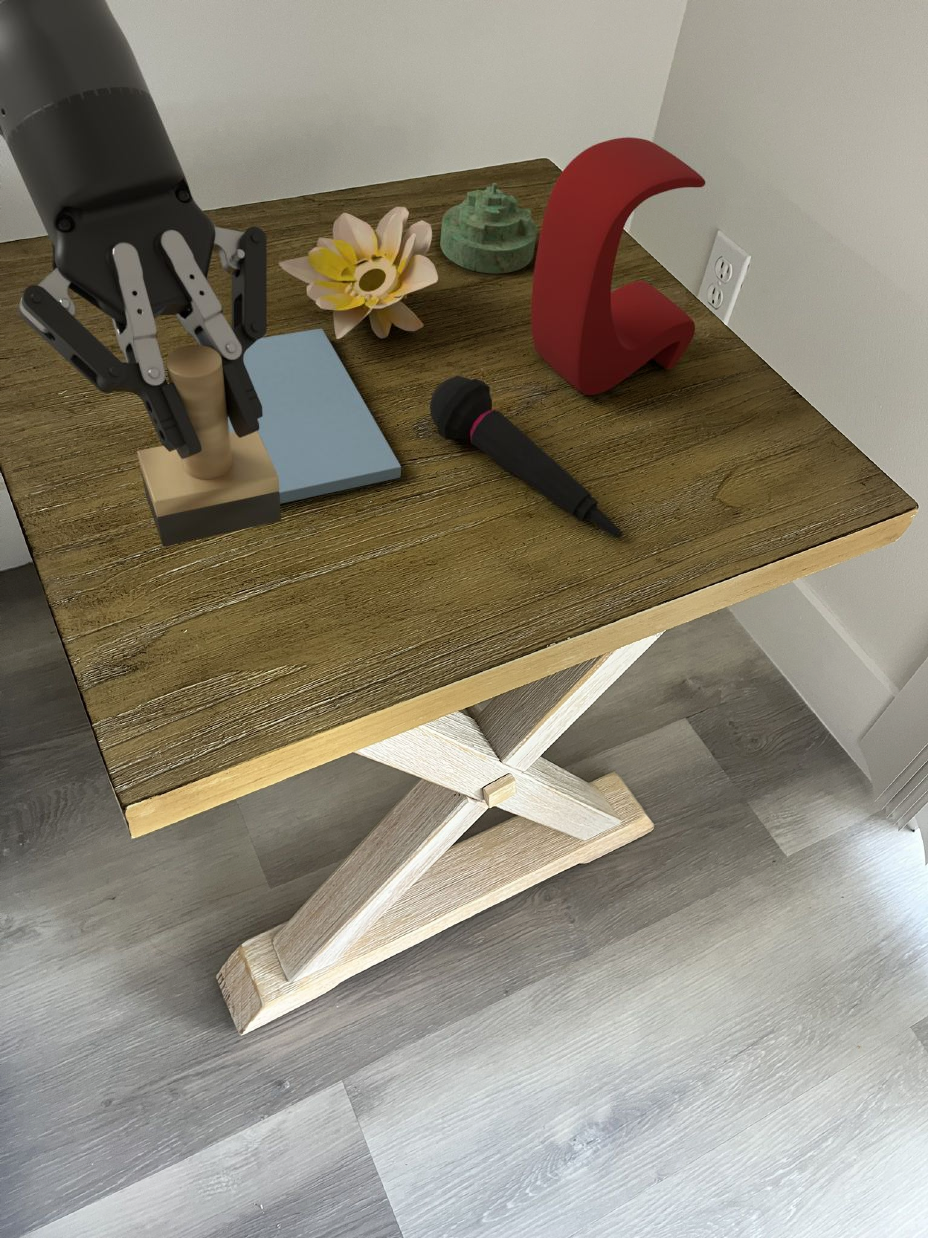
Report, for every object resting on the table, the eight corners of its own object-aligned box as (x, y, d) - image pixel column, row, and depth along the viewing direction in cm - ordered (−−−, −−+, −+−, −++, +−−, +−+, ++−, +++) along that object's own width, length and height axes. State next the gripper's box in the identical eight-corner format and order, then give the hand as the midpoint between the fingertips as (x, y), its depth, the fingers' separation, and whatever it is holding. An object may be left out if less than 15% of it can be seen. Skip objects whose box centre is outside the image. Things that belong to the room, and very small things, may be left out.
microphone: (618, 552, 81) (445, 413, 87) (653, 499, 78) (471, 357, 83) (586, 572, 77) (407, 423, 83) (621, 516, 74) (432, 365, 79)
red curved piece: (562, 408, 88) (608, 191, 73) (516, 363, 92) (551, 148, 77) (685, 366, 94) (752, 158, 79) (637, 325, 98) (693, 119, 83)
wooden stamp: (163, 547, 56) (133, 398, 48) (145, 496, 59) (115, 346, 51) (281, 521, 59) (272, 374, 50) (260, 472, 61) (248, 325, 53)
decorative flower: (262, 259, 95) (283, 160, 89) (365, 265, 101) (392, 173, 95) (317, 356, 88) (346, 257, 81) (425, 357, 94) (460, 264, 87)
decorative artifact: (517, 221, 109) (430, 225, 106) (526, 158, 103) (435, 161, 101) (545, 270, 103) (453, 276, 100) (557, 206, 97) (460, 210, 95)
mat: (256, 509, 76) (255, 497, 75) (193, 360, 87) (191, 348, 86) (400, 477, 80) (401, 466, 79) (322, 338, 91) (322, 327, 90)
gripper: (-63, 110, 43) (111, 482, 46) (226, 58, 49) (358, 389, 53) (-68, 176, 49) (85, 498, 53) (187, 123, 55) (308, 414, 59)
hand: (220, 442), depth 53 cm, fingers closed on wooden stamp, 3 cm apart
